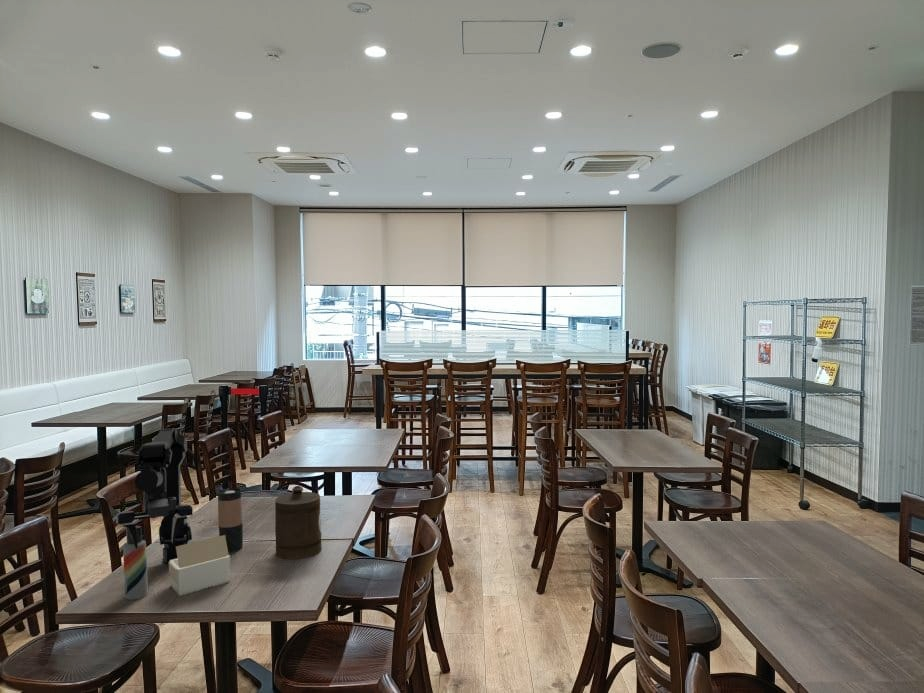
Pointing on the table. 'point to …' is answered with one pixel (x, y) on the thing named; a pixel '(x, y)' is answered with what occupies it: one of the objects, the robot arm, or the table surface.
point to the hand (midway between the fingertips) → (155, 545)
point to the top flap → (201, 551)
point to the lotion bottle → (135, 566)
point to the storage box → (199, 575)
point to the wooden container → (297, 524)
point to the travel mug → (231, 518)
